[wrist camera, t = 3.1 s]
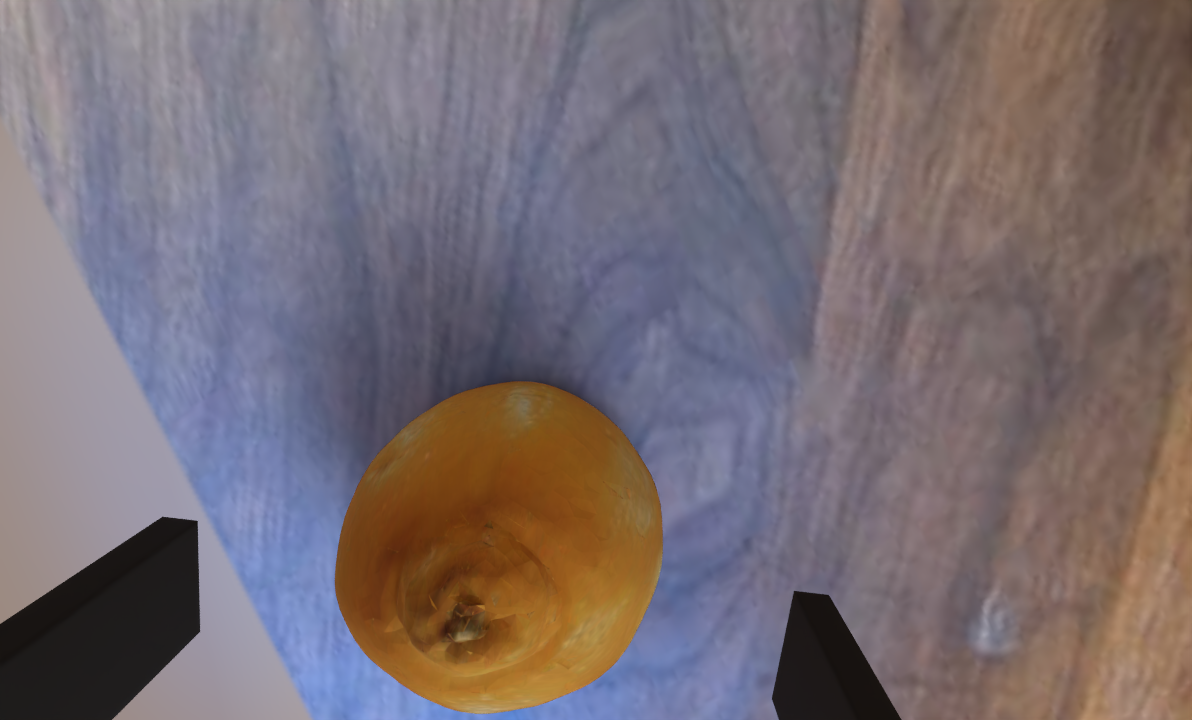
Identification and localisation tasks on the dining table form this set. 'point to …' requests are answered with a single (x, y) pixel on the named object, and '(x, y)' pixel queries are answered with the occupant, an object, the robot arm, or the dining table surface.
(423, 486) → the fruit
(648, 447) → the dining table surface
